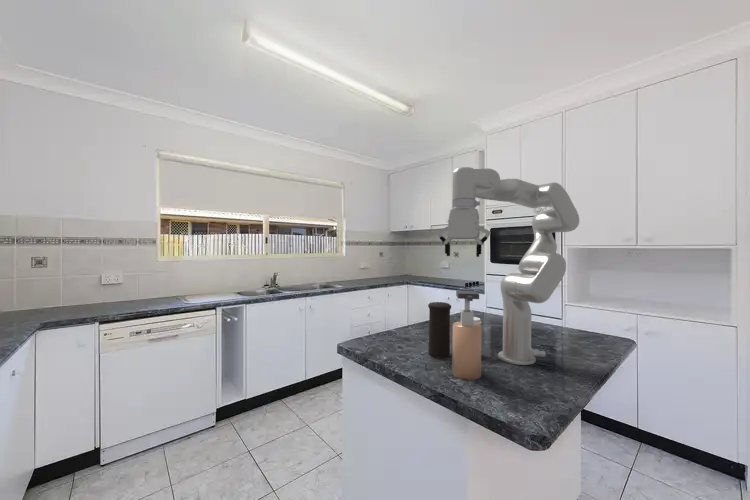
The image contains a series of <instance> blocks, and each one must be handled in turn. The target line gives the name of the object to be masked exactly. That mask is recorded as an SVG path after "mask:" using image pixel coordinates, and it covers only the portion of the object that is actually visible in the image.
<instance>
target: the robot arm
mask: <svg viewBox="0 0 750 500" xmlns="http://www.w3.org/2000/svg"><path fill="white" fill-rule="evenodd" d="M476 198H477V199H480V200H487V201H489V200H490V201H494V202H496V201H497V202H504V203H505V202H507V203H512V204H515V205H519V206H522V207H526V208H528V209H529V208H530V209H543V208H552V210H544V211H540V212H537V213H536V214H534V216H533V217H532V220H531V228H532V231H533V242H532V243H531V245H530V247H529V248H528V249H527V251H526V252H525V254H524V255H523V257H522V258H521V259H520V261H519V264H518V270H519V272H520V273H518V272H517V273H516V272H515V273H514V272H512V273H508V274H506V275H505V276H503V277H502V278H501V280H500V281H501V282H500V291H501V292H500V293H501V297H502V306H503V309H502V310H503V313H502V350H501V351H499V352H498V353H497V355H498V359H500V360H501V361H503V362H506V363H508V364H512V365H518V366H519V365H520V366H528V365H529V366H531V365H534V364H535V363H536V360H537V357H543V358H545V357H546V351H545V350H540V349H534V348H532V308H531V306H530V304H529V303H533V304H542V303H546V302H547V301H548V300H549V299H550V298H551V296H552V295H553V293H554V292H555V290H556V289H557V288H558V286H559V285H560V282H562V280H563V277H564V276H565V274H566V271H567V262H566V259H565V258H564V256H562V255H561V254H560V253H557V248H558V247H557V242H556V239H555V238H554V236H553V233H567V232H569V233H570V232H572V231H574V230H576V229H577V228H578V227H579V224H580V216H579V215H580V214H579V212H578V211H577V208H576V207H575V205H574V203H573V201H572V199H571V197H570V195H569V193H568V192H567V190H566V189H565V188H564V187H563V186H562V185H561V184H560V183H558V182H549V183H544V184H535V183H534V184H533V183H531V182H528V181H524V180H522V179H519V178H505V179H502V178H501V176H500V174H499V172H497V171H496V170H495V169H493V168H473V167H470V166H469V167H468V166H467V167H466V166H465V167H463V166H462V167H461V166H460V167H459V168H458V167H457V168H456V169H454V170H453V172H452V199H451V200H452V202H451V203H452V204H451V209H450V210H449V215H448V219H447V220H448V221H447V222H448V223H447V226H446V227H444V228H442V229H440V230H438V231H437V232H436V234H437V236H438V238H439V239H440V241H441V242H442V243H443V244H444V254H446V257H450V256H451V244H450V243H451V241H452V240H475V242H476V243H477V245H476V250H475V251H476V253H475V254H476V257H477V258H479V257H480V255H482V245H484V243H485V242H486V241H487V240H488V238H489V237H490V235H491V234H492V233H491V231H490V230H488V229H486V228H485V227H483V226H481V225H480V214H479V209H477V207H478V206H481V201H477V200H476ZM446 232H447V234H446V235H447V238H445V236H444V235H443V234H444V233H446ZM480 232H482V233H484V236H483V237H482V238H481V239H480V238H479V237H480Z"/></svg>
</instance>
